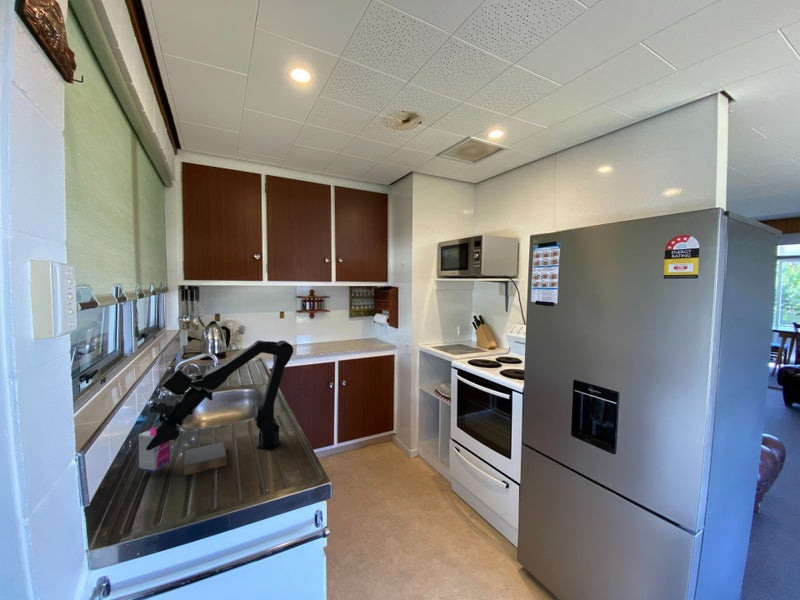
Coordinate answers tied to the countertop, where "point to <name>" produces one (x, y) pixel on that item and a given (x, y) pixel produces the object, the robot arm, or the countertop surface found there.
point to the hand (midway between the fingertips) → (148, 444)
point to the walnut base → (205, 458)
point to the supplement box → (152, 452)
